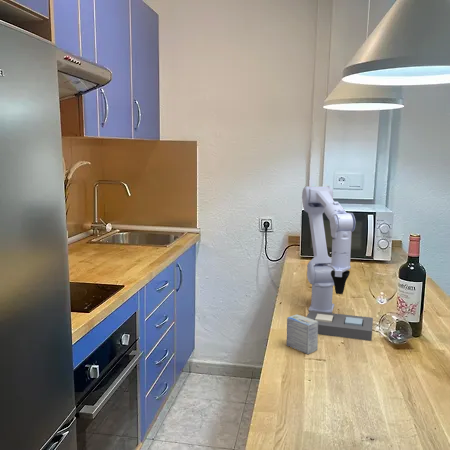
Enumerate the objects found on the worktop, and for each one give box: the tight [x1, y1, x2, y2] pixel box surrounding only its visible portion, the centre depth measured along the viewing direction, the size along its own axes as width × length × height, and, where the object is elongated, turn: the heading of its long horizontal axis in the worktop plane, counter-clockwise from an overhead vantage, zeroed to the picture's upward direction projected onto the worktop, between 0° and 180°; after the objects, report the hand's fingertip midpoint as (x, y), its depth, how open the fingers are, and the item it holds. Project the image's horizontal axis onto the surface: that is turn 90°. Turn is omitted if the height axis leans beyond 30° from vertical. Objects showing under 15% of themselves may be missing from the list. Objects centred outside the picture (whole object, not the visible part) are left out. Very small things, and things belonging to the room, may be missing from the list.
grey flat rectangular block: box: [306, 310, 374, 342], centre depth 145 cm, size 12×20×3 cm, turn 71°
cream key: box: [315, 314, 333, 323], centre depth 147 cm, size 5×5×3 cm
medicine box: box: [286, 314, 319, 355], centre depth 131 cm, size 8×4×9 cm, turn 41°
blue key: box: [345, 317, 363, 326], centre depth 144 cm, size 5×5×3 cm
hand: (339, 293), depth 148 cm, fingers closed
